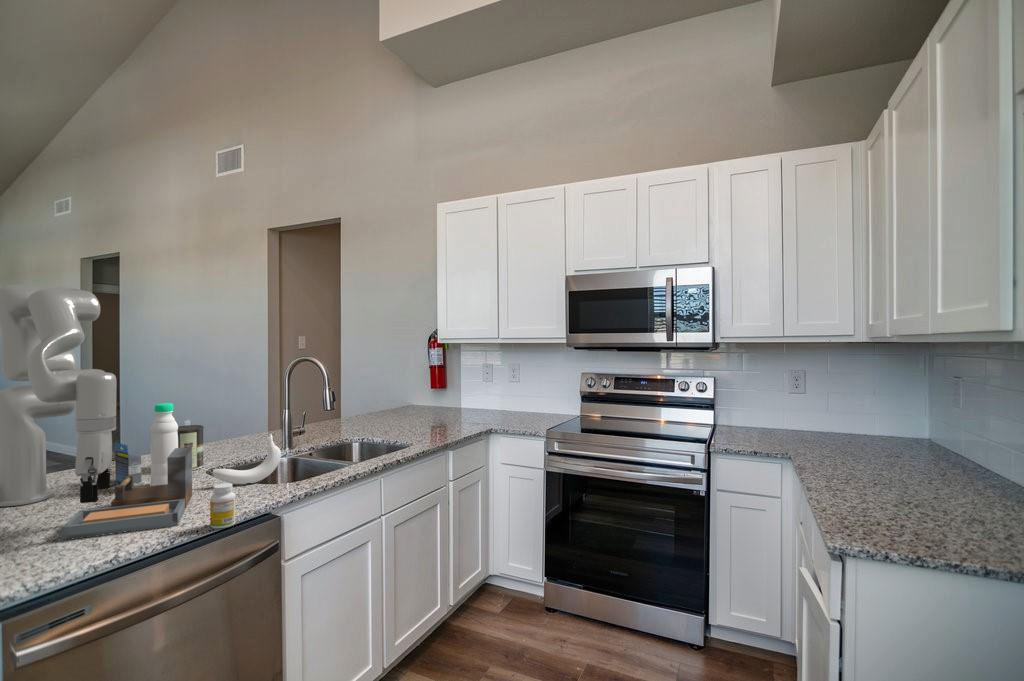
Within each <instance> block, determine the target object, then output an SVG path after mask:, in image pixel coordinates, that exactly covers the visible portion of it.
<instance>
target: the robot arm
mask: <svg viewBox="0 0 1024 681" xmlns="http://www.w3.org/2000/svg"><path fill="white" fill-rule="evenodd" d="M100 315H101V304H100V300H98V298H97V296H96V295H95V294H94V293H92V292H91V291H88V290H83V289H79V288H73V287H62V286H60V287H59V286H49V285H48V286H47V285H46V286H44V285H33V284H32V285H30V284H9V285H8V284H7V285H3V286H0V332H1V333H0V334H1V337H0V338H1V343H0V346H1V348H0V349H1V352H0V354H1V362H0V363H1V364H0V366H1V373H2V376H3V377H4V379H6V380H8V381H12V382H29V383H30V385H20V386H19V385H17V386H11V387H6V388H4V389H1V390H0V507H3V508H4V507H14V506H15V507H16V506H23V505H27V504H34V503H38V502H41V501H44V500H47V499H49V498H52V497H53V496H54V494H55V492H54V489H50V488H47V440H46V438H47V437H46V433H45V431H44V429H42V427H41V426H39V425H38V424H36V423H35V420H40V419H49V418H56V417H65V416H68V415H71V414H72V413H75V434H78V435H77V436H78V437H77V442H76V453H75V467H74V470H75V472H74V474H75V476H76V477H80V479H79V481H80V482H79V503H80V504H87V503H96V502H98V500H99V491H101V490H109V489H110V488H111V472H110V471H111V464H112V460H113V435H112V433H113V432H112V431H116V430H117V383H118V382H117V377H116V375H115V374H114V373H112V372H106V371H105V370H103V369H97V368H88V369H87V368H85V369H79V364H78V359H77V356H76V354H75V352H74V351H73V350H74V349H77V348H78V347H79V346H80V345H81V344H83V343H84V340H86V338H85V337H86V335H85V333H84V330H83V328H82V325H81V323H83V322H84V323H91V322H94V321H96V320H97V319H98V318H99V317H100ZM80 322H81V323H80Z"/></svg>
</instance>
